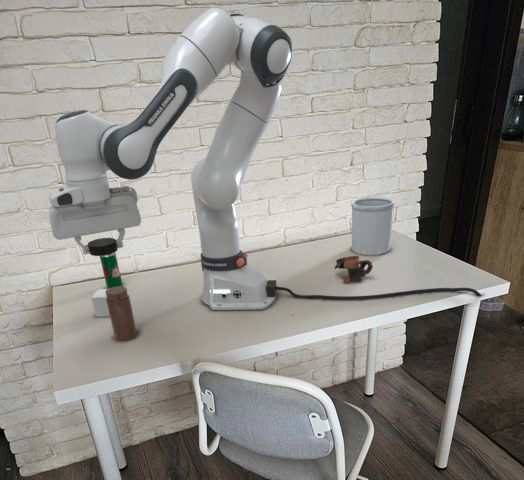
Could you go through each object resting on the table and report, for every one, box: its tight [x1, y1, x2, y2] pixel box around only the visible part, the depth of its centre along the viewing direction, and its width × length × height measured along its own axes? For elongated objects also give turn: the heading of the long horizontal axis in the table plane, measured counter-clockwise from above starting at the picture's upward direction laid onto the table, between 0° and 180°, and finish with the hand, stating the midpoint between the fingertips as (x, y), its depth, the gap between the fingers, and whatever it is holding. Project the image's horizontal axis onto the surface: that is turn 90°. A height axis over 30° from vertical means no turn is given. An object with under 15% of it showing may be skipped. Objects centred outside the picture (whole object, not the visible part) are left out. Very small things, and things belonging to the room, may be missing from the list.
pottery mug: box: [334, 255, 374, 284], centre depth 152 cm, size 12×10×8 cm
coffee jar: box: [105, 285, 138, 342], centre depth 123 cm, size 6×6×13 cm
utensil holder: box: [350, 195, 396, 256], centre depth 172 cm, size 15×15×18 cm
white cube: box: [91, 288, 110, 318], centre depth 139 cm, size 6×6×6 cm
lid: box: [86, 237, 119, 257], centre depth 115 cm, size 7×7×2 cm
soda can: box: [99, 252, 123, 289], centre depth 155 cm, size 5×5×12 cm
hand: (103, 250), depth 115 cm, fingers closed on lid, 6 cm apart
